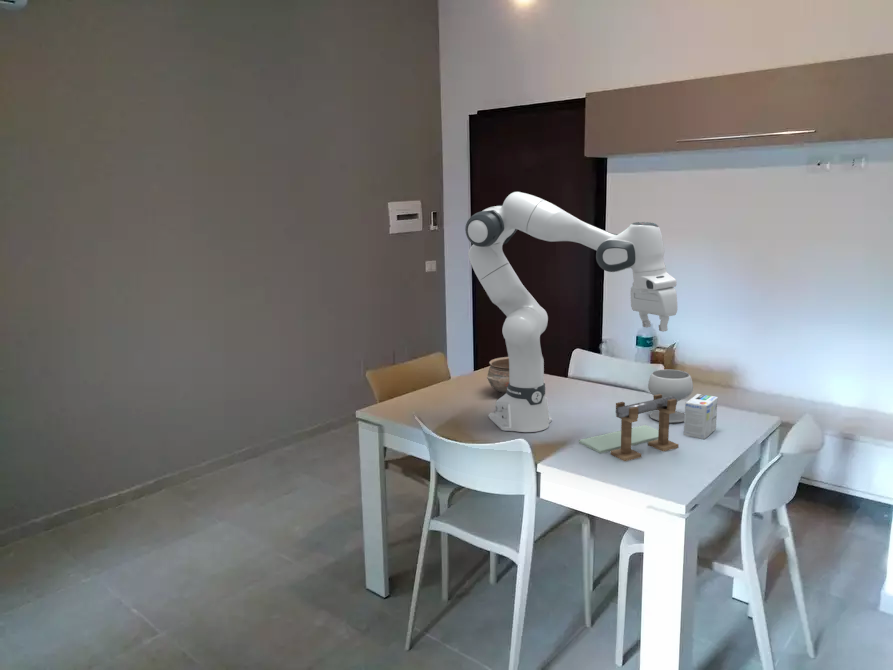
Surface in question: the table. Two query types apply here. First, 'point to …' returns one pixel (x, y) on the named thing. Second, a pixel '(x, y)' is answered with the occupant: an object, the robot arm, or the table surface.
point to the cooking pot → (499, 374)
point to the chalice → (670, 389)
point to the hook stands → (659, 444)
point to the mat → (614, 439)
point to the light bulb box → (700, 416)
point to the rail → (644, 406)
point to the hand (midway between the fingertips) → (654, 329)
